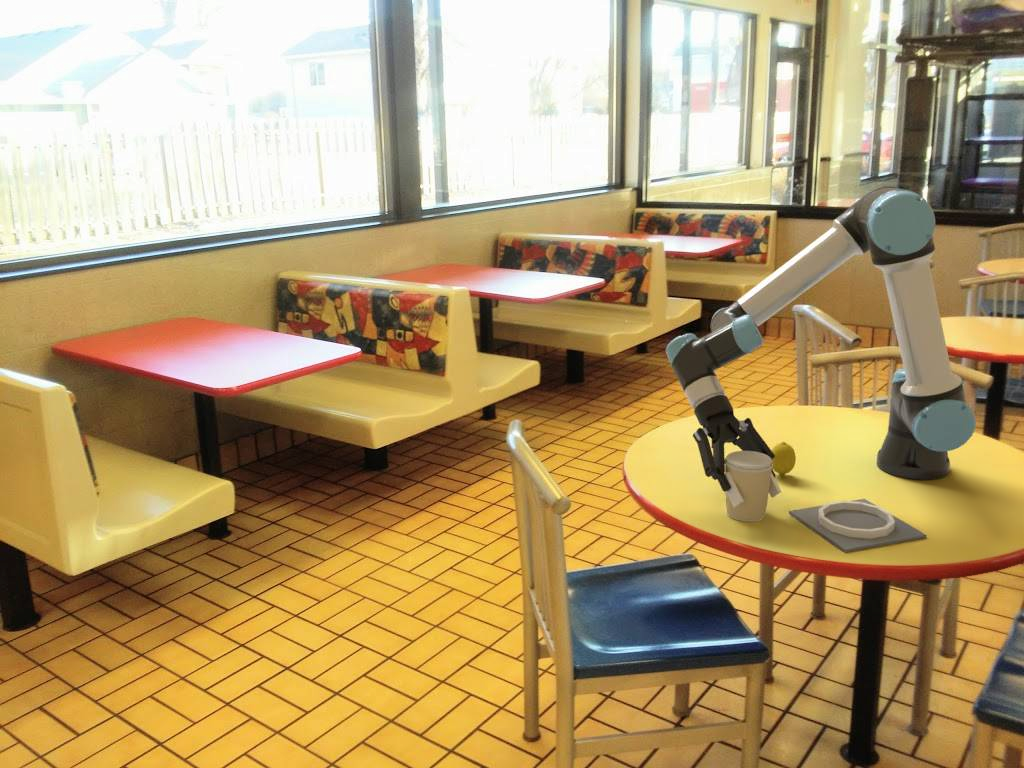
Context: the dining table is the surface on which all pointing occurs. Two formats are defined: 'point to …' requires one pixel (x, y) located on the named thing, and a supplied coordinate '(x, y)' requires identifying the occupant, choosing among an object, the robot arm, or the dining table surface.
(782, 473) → the lemon
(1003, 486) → the dining table surface
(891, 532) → the cup tray
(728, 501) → the coffee cup
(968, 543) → the dining table surface
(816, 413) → the dining table surface
